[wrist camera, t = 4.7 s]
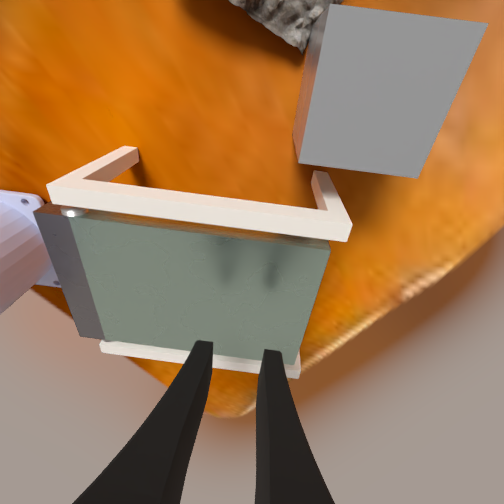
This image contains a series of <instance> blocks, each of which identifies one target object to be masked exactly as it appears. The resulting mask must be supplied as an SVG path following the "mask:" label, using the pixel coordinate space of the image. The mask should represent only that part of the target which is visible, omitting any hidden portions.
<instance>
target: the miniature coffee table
mask: <svg viewBox="0 0 504 504" xmlns="http://www.w3.org/2000/svg"><path fill="white" fill-rule="evenodd" d="M138 162H139V155H138V148H137V147H129V146H123V147H121V148H119V149H117V150H115V151H113V152H111V153H109V154H107V155H105V156H103V157H101V158H99V159H97V160H95V161H93V162H91V163H89V164H87V165H85V166H83V167H81V168H79V169H77V170H75V171H73V172H71V173H69V174H67V175H65V176H63V177H61V178H59V179H57V180H55V181H53V182H51V183H49V184H47V185H46V186H47V189H48V192H49V195H50V198H51V201H52V204H58V205H66V206H74V207H81V208H89V209H97V210H104V211H112V212H120V213H127V214H135V215H142V216H150V217H158V218H165V219H173V220H181V221H188V222H196V223H204V224H211V225H219V226H227V227H234V228H242V229H250V230H257V231H265V232H273V233H280V234H288V235H296V236H303V237H311V238H319V239H326V240H334V241H342V242H347V240H348V237H349V234H350V231H351V228H352V225H353V224H352V222H351V220H350V218H349V216H348V214H347V212H346V210H345V208H344V205H343V203H342V201H341V199H340V197H339V195H338V193H337V191H336V189H335V187H334V185H333V183H332V180H331V178H330V176H329V174H328V172H323V171H315V170H314V172H313V176H312V180H311V186H312V190H313V193H314V197H315V200H316V203H317V207H318V209H310V208H302V207H294V206H287V205H279V204H271V203H264V202H256V201H248V200H241V199H233V198H225V197H217V196H210V195H202V194H194V193H187V192H179V191H171V190H164V189H156V188H148V187H140V186H133V185H125V184H117V183H110V182H109V181H111V180H112V179H114V178H115V177H117V176H118V175H120V174H121V173H123V172H124V171H126V170H127V169H129V168H130V167H132V166H133V165H135V164H136V163H138ZM99 346H100V349H101V352H102V353H109V354H116V355H124V356H131V357H138V358H146V359H153V360H161V361H168V362H176V363H183V364H184V363H185V361H186V359H187V357H188V356H189V354H190V352H191V351H185V350H177V349H170V348H162V347H155V346H147V345H140V344H133V343H125V342H118V341H112V342H104V341H103V340H101V342H100V343H99ZM261 363H262V361H259V360H252V359H244V358H237V357H229V356H222V355H215V354H213V365H212V367H213V368H220V369H228V370H235V371H243V372H250V373H257V374H259V373H260V368H261ZM284 368H285V373H286V377H287V378H295V379H298V378H299V375H300V373H301V366H300V352H299V351H298V355H297V358H296V361H295V364H294V365H289V364H284Z"/></svg>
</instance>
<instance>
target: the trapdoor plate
mask: <svg viewBox="0 0 504 504" xmlns="http://www.w3.org/2000/svg"><path fill="white" fill-rule="evenodd" d="M33 215H34V217H35V220H36V222H37V225H38V228H39V230H40V233H41V236H42V238H43V241H44V243H45V246H46V249H47V251H48V254H49V256H50V259H51V262H52V264H53V267H54V269H55V272H56V275H57V277H58V280H59V283H60V285H61V288H62V290H63V293H64V296H65V298H66V301H67V303H68V306H69V309H70V311H71V314H72V316H73V319H74V322H75V324H76V327H77V330H78V332H79V335H80V336H81V337H88V338H95V339H102V340H103V341H104V342H112V341H118V342H125V343H133V344H140V345H147V346H155V347H162V348H170V349H177V350H185V351H191V350H192V348H193V346H194V344H195V341H197V340H202V341H209V342H213V354H215V355H222V356H229V357H237V358H244V359H252V360H259V361H262V358H263V353H264V349H269V350H277V351H280V352H281V353H282V358H283V363H284V364H289V365H294V364H295V361H296V358H297V355H298V351H299V348H300V345H301V342H302V339H303V336H304V333H305V330H306V327H307V324H308V320H309V317H310V314H311V311H312V308H313V305H314V302H315V299H316V296H317V292H318V289H319V286H320V283H321V280H322V277H323V274H324V271H325V268H326V265H327V261H328V258H329V255H330V252H331V249H330V246H329V242H328V240H326V239H319V238H311V237H303V236H296V235H288V234H280V233H273V232H265V231H257V230H250V229H242V228H234V227H227V226H219V225H211V224H204V223H196V222H188V221H181V220H173V219H165V218H158V217H150V216H142V215H135V214H127V213H120V212H112V211H104V210H97V209H89V208H81V207H74V206H66V205H58V204H52V201H50V202H48V203H47V204H45V205H43V206H41V207H40V208H38V209H36V210H34V211H33Z"/></svg>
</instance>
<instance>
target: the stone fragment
mask: <svg viewBox="0 0 504 504" xmlns="http://www.w3.org/2000/svg"><path fill="white" fill-rule="evenodd" d="M229 1H230V2H231V3H232V4H234V5H236V6H240V7H241V8H242V9H244V10H245V11H246V12H247V14H248V15H249V16H250V17H252V18H253V19H254V20H256V21H258V22H260V23H262V24H263V25H264V26H265V27H266V28H268V29H269V30H270V31H272V32H273V33H274V34H276V35H278V36H280V37H282V38H283V39H284V40H285V41H286V42H287V43H289V44H291V45H292V46H295V47H298V48H299V50H300V51H301V54H302V55H303V51H304V50H305V48H306V46H307V43H308V41H309V38H310V34H311V29H312V26H313V24H314V23H315V22H316V21H317V19H318V18H319V17H320V16H321V14H322V13H323V12H324V11H325V9H326V8H327V7H328V6H329V4H339V3H341V2H342V1H343V0H229Z"/></svg>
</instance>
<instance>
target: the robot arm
mask: <svg viewBox="0 0 504 504" xmlns="http://www.w3.org/2000/svg"><path fill="white" fill-rule="evenodd" d="M26 200H27V201H28V202H29V203H28V202H27V201H26ZM43 205H45V204H44V202H43V200H42V199H41V198H40V197H39V196H38V195H35V194H28V193H21V192H13V191H5V190H0V314H1V313H2V312H4V311H5V310H6V309H7V308H8V307H9V306H11V305H12V304H13V303H14V302H15V301H16V300H17V299H18V298H20V297H21V296H22V295H23V294H24V293H25V292H26V291H27V290H29V289H30V288H31V287H32V286H33V285H34V284H37V285H45V286H52V287H60V288H61V285H60V283H59V280H58V277H57V275H56V272H55V269H54V267H53V264H52V262H51V259H50V256H49V254H48V251H47V249H46V246H45V243H44V241H43V238H42V236H41V233H40V230H39V228H38V225H37V222H36V220H35V217H34V215H33V211H34V210H36V209H38V208H40V207H41V206H43ZM212 365H213V342H209V341H202V340H197V341H195V344H194V346H193V348H192V350H191V352H190V354H189V356H188V357H187V359H186V361H185V363H184V364H183V366H182V368H181V369H180V371H179V373H178V374H177V376H176V377H175V379H174V380H173V382H172V383H171V385H170V386H169V388H168V390H167V391H166V393H165V394H164V396H163V397H162V398H161V400H160V401H159V402H158V404H157V405H156V407H155V408H154V409H153V411H152V412H151V413H150V415H149V416H148V418H147V419H146V420H145V421H144V423H143V424H142V425H141V427H140V428H139V429H138V430H137V432H136V433H135V434H134V435H133V437H132V438H131V439H130V440H129V441H128V443H127V444H126V445H125V447H123V449H122V450H121V451H120V452H119V453H118V454H117V456H116V457H115V458H114V459H113V460H112V461H111V462H110V464H109V465H108V466H107V467H106V468H105V469H104V470H103V472H102V473H101V474H100V475H99V476H98V477H97V478H96V479H95V481H94V482H93V483H92V484H91V485H90V486H89V487H88V488H87V489H86V490H85V491H84V492H83V493H82V494H81V495H80V496H79V497H78V498H77V499H76V500H75V501H74V503H72V504H180V500H181V495H182V490H183V486H184V481H185V476H186V472H187V468H188V464H189V460H190V457H191V453H192V450H193V446H194V443H195V439H196V435H197V432H198V429H199V425H200V421H201V418H202V415H203V411H204V408H205V404H206V401H207V397H208V391H209V386H210V381H211V376H212ZM255 504H335V503H334V501H333V499H332V497H331V495H330V493H329V490H328V488H327V486H326V484H325V482H324V479H323V477H322V475H321V473H320V470H319V468H318V466H317V464H316V461H315V459H314V457H313V454H312V452H311V449H310V446H309V444H308V442H307V439H306V436H305V433H304V431H303V428H302V426H301V423H300V420H299V417H298V414H297V411H296V408H295V405H294V401H293V398H292V395H291V392H290V388H289V384H288V381H287V377H286V373H285V368H284V363H283V358H282V353H281V352H280V351H277V350H269V349H264V353H263V358H262V363H261V368H260V373H259V377H258V388H257V400H256V492H255Z"/></svg>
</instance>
